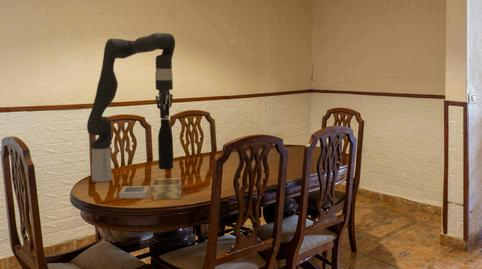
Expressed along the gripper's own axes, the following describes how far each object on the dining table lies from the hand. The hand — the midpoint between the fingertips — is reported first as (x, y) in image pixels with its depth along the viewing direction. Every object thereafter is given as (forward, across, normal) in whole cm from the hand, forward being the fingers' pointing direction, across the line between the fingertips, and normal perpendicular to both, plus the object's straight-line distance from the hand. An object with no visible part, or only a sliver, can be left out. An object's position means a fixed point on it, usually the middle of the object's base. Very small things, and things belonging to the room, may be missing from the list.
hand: (164, 117), depth 212 cm
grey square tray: (+36, -2, +15) cm, 39 cm away
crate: (+36, 0, 0) cm, 36 cm away
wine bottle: (+23, 0, 0) cm, 23 cm away
